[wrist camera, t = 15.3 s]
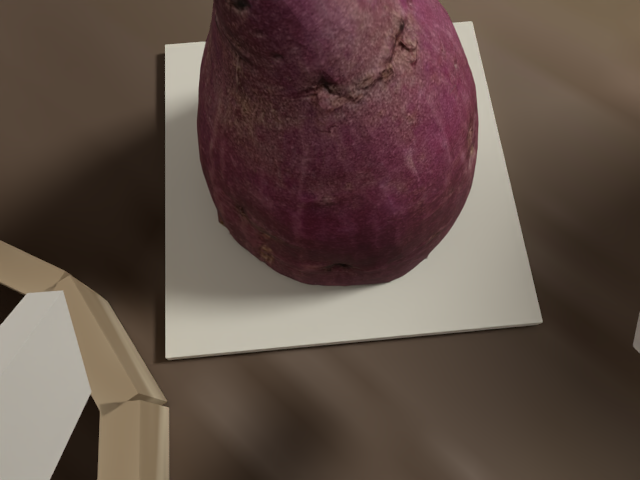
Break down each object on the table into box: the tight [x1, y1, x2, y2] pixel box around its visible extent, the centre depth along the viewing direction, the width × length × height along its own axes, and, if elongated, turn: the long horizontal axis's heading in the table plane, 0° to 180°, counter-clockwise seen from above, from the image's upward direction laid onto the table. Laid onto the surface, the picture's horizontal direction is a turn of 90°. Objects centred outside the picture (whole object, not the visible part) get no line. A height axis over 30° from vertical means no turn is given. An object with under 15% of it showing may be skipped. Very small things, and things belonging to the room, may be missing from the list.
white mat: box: [165, 21, 543, 360], centre depth 23 cm, size 14×14×1 cm
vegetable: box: [197, 0, 479, 286], centre depth 17 cm, size 10×10×15 cm
